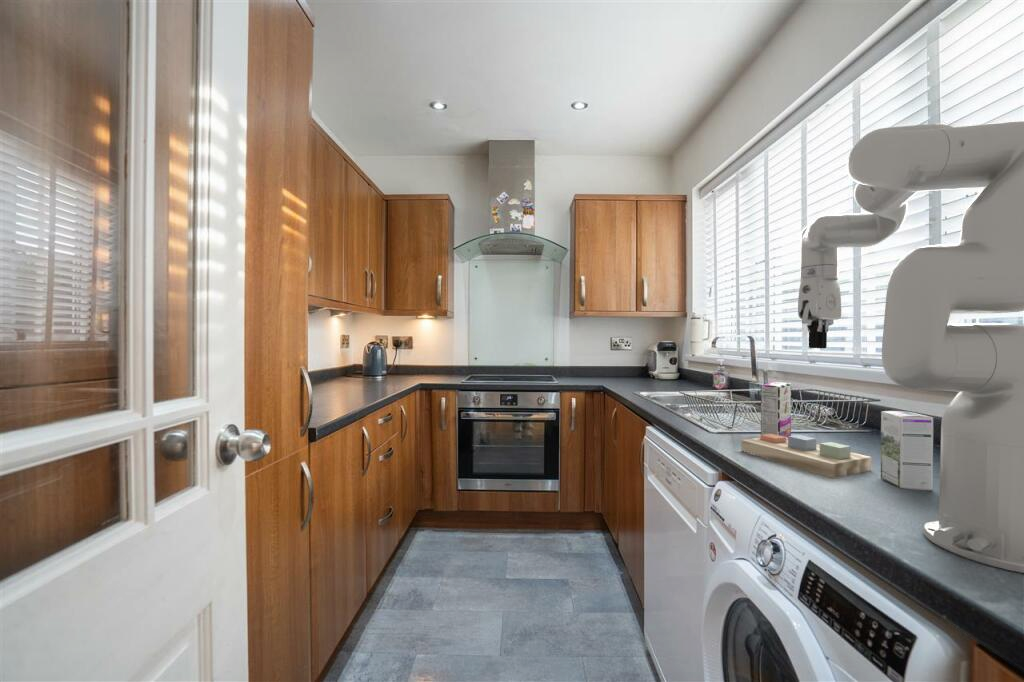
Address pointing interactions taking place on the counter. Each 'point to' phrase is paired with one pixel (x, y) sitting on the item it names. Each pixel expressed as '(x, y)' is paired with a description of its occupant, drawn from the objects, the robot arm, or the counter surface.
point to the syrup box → (907, 449)
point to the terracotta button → (773, 438)
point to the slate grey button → (802, 442)
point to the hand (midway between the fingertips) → (817, 348)
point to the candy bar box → (776, 409)
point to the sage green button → (835, 450)
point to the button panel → (808, 458)
